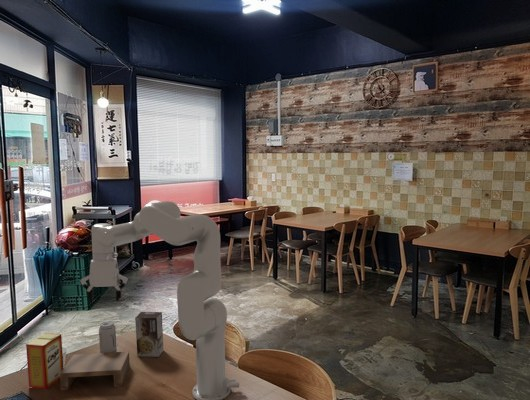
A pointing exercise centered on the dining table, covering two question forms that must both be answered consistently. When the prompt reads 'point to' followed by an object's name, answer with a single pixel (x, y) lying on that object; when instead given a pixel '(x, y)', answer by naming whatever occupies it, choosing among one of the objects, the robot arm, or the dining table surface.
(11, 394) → the dining table surface
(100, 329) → the energy drink can
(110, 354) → the walnut stand
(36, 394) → the dining table surface
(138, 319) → the coffee box
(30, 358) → the baking soda box
